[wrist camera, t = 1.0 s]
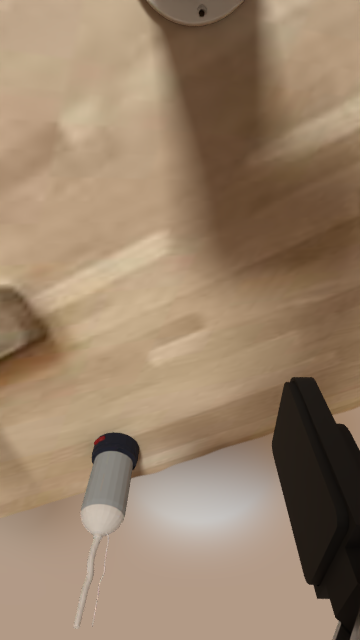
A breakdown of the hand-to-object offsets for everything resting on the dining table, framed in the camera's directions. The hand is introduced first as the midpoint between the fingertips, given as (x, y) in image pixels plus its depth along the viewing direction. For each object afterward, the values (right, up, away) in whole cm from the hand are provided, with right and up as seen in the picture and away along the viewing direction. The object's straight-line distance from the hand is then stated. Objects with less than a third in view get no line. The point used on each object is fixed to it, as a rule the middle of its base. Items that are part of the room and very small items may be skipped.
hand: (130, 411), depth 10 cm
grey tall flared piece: (-10, -21, +50) cm, 55 cm away
